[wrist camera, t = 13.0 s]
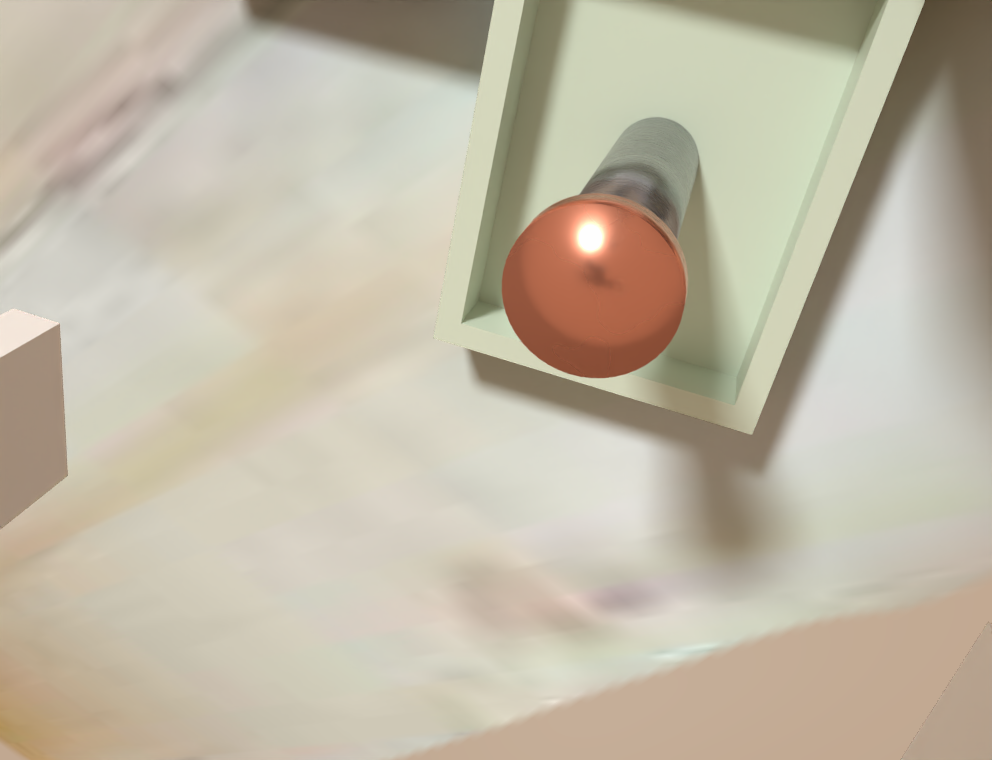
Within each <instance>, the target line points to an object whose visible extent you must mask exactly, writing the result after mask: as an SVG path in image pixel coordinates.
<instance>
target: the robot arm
mask: <svg viewBox="0 0 992 760" xmlns="http://www.w3.org/2000/svg"><path fill="white" fill-rule="evenodd" d="M67 476H68V470H67V451H66V432H65V413H64V395H63V376H62V357H61V338H60V323H57V322H54V321H51V320H48V319H45V318H41V317H38V316H35V315H32V314H29V313H26V312H23V311H20V310H17V309H11V310H10V311H8V312H6V313H4V314H2V315H0V529H2V528H3V527H4V526H5V525H7V524H8V523H9V522H10V521H12V520H13V519H14V518H15V517H17V516H18V515H19V514H20V513H22V512H23V511H24V510H25V509H27V508H28V507H29V506H30V505H32V504H33V503H34V502H35V501H37V500H38V499H39V498H40V497H42V496H43V495H44V494H45V493H47V492H48V491H49V490H50V489H52V488H53V487H54V486H55V485H57V484H58V483H59V482H60V481H62V480H63V479H64V478H65V477H67ZM901 760H992V623H990V622H988V623H987V624H986V626H985V627H984V629H983V631H982V632H981V634H980V636H979V637H978V638H977V640H976V642H975V643H974V645H973V646H972V648H971V649H970V651H969V653H968V654H967V656H966V657H965V659H964V660H963V662H962V664H961V665H960V667H959V668H958V670H957V672H956V673H955V675H954V676H953V678H952V679H951V681H950V683H949V684H948V686H947V687H946V689H945V690H944V692H943V694H942V695H941V697H940V698H939V700H938V702H937V703H936V705H935V706H934V708H933V709H932V711H931V713H930V714H929V716H928V717H927V719H926V720H925V722H924V724H923V725H922V727H921V728H920V730H919V731H918V733H917V735H916V736H915V738H914V739H913V741H912V742H911V744H910V746H909V747H908V749H907V750H906V752H905V754H904V755H903V757H902V758H901Z"/></svg>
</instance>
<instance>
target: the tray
mask: <svg viewBox="0 0 992 760" xmlns="http://www.w3.org/2000/svg"><path fill="white" fill-rule="evenodd" d="M924 2H925V0H494V6H493V11H492V17H491V22H490V28H489V33H488V39H487V44H486V50H485V55H484V61H483V66H482V72H481V77H480V83H479V88H478V94H477V99H476V105H475V111H474V116H473V122H472V127H471V133H470V138H469V144H468V149H467V155H466V160H465V166H464V171H463V177H462V182H461V188H460V193H459V199H458V204H457V210H456V215H455V221H454V226H453V232H452V238H451V243H450V249H449V254H448V260H447V265H446V271H445V276H444V282H443V287H442V293H441V298H440V304H439V309H438V315H437V320H436V326H435V331H434V337H433V338H434V339H437V340H441V341H444V342H447V343H450V344H454V345H457V346H460V347H464V348H467V349H470V350H474V351H477V352H480V353H483V354H487V355H490V356H493V357H497V358H500V359H503V360H506V361H510V362H513V363H516V364H520V365H523V366H526V367H529V368H533V369H536V370H539V371H543V372H546V373H549V374H552V375H556V376H559V377H562V378H566V379H569V380H572V381H575V382H579V383H582V384H585V385H589V386H592V387H595V388H598V389H602V390H605V391H608V392H612V393H615V394H618V395H621V396H625V397H628V398H631V399H635V400H638V401H641V402H644V403H648V404H651V405H654V406H658V407H661V408H664V409H667V410H671V411H674V412H677V413H681V414H684V415H687V416H690V417H694V418H697V419H700V420H704V421H707V422H710V423H713V424H717V425H720V426H723V427H727V428H730V429H733V430H736V431H740V432H743V433H746V434H750V435H752V434H753V432H754V429H755V427H756V424H757V421H758V419H759V416H760V414H761V411H762V409H763V406H764V404H765V401H766V399H767V396H768V394H769V391H770V389H771V386H772V384H773V381H774V379H775V376H776V374H777V371H778V369H779V366H780V364H781V361H782V359H783V356H784V354H785V351H786V349H787V346H788V344H789V341H790V339H791V336H792V334H793V331H794V329H795V326H796V324H797V321H798V319H799V316H800V314H801V311H802V308H803V306H804V303H805V301H806V298H807V296H808V293H809V291H810V288H811V286H812V283H813V281H814V278H815V276H816V273H817V271H818V268H819V266H820V263H821V261H822V258H823V256H824V253H825V251H826V248H827V246H828V243H829V241H830V238H831V236H832V233H833V231H834V228H835V226H836V223H837V221H838V218H839V216H840V213H841V211H842V208H843V206H844V203H845V201H846V198H847V195H848V193H849V190H850V188H851V185H852V183H853V180H854V178H855V175H856V173H857V170H858V168H859V165H860V163H861V160H862V158H863V155H864V153H865V150H866V148H867V145H868V143H869V140H870V138H871V135H872V133H873V130H874V128H875V125H876V123H877V120H878V118H879V115H880V113H881V110H882V108H883V105H884V103H885V100H886V98H887V95H888V93H889V90H890V88H891V85H892V82H893V80H894V77H895V75H896V72H897V70H898V67H899V65H900V62H901V60H902V57H903V55H904V52H905V50H906V47H907V45H908V42H909V40H910V37H911V35H912V32H913V30H914V27H915V25H916V22H917V20H918V17H919V15H920V12H921V10H922V7H923V5H924ZM651 117H662V118H667V119H670V120H673V121H675V122H677V123H679V124H680V125H682V126H683V127H684V128H685V129H686V130H687V131H688V132H689V133H690V134H691V136H692V137H693V139H694V141H695V143H696V145H697V149H698V154H699V166H698V171H697V174H696V178H695V181H694V185H693V188H692V192H691V195H690V199H689V202H688V206H687V209H686V212H685V216H684V219H683V223H682V226H681V230H680V233H679V237H678V240H677V241H678V243H679V245H680V247H681V249H682V251H683V254H684V257H685V261H686V266H687V271H688V290H687V297H686V302H685V306H684V311H683V315H682V319H681V322H680V325H679V327H678V329H677V332H676V334H675V335H674V337H673V339H672V340H671V342H670V343H669V344H668V346H667V347H666V348H665V349H664V351H663V352H662V353H660V354H659V355H658V356H657V357H656V358H655V359H654V360H652V361H651V362H650V363H648V364H647V365H645V366H643V367H641V368H640V369H638V370H636V371H633V372H630V373H628V374H625V375H621V376H616V377H610V378H586V377H579V376H575V375H571V374H568V373H565V372H562V371H560V370H557V369H555V368H553V367H552V366H550V365H548V364H546V363H545V362H543V361H542V360H540V359H539V358H538V357H536V356H535V355H534V354H533V353H532V352H530V351H529V350H528V348H527V347H526V346H525V345H524V344H523V343H522V342H521V340H520V339H519V338H518V336H517V335H516V334H515V332H514V330H513V328H512V326H511V325H510V322H509V320H508V317H507V315H506V312H505V308H504V304H503V298H502V276H503V269H504V266H505V262H506V259H507V257H508V254H509V252H510V250H511V248H512V246H513V245H514V243H515V242H516V240H517V239H518V237H519V236H520V235H521V234H522V232H523V231H524V230H525V229H526V227H527V226H528V225H529V224H530V223H531V221H532V220H533V219H534V218H535V217H536V216H537V215H538V214H540V213H541V212H542V211H543V210H545V209H546V208H548V207H549V206H551V205H552V204H554V203H556V202H558V201H560V200H563V199H566V198H569V197H572V196H576V195H579V194H580V193H581V191H582V190H583V188H584V187H585V185H586V184H587V182H588V181H589V180H590V178H591V177H592V175H593V174H594V172H595V171H596V170H597V168H598V167H599V165H600V164H601V162H602V161H603V160H604V158H605V157H606V155H607V154H608V152H609V151H610V149H611V148H612V147H613V145H614V144H615V142H616V141H617V139H618V138H619V137H620V135H621V134H622V133H623V132H624V130H626V129H627V128H628V127H629V126H630V125H632V124H633V123H635V122H637V121H639V120H642V119H645V118H651Z"/></svg>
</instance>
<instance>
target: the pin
mask: <svg viewBox="0 0 992 760" xmlns="http://www.w3.org/2000/svg"><path fill="white" fill-rule="evenodd" d="M698 166H699V154H698V149H697V145H696V143H695V141H694V139H693V137H692V136H691V134H690V133H689V132H688V131H687V130H686V129H685V128H684V127H683V126H682V125H680V124H679V123H677V122H675V121H673V120H670V119H667V118H662V117H651V118H645V119H642V120H639V121H637V122H635V123H633V124H632V125H630V126H629V127H628V128H627V129H626V130H624V132H623V133H622V134H621V135H620V137H619V138H618V139H617V141H616V142H615V144H614V145H613V147H612V148H611V149H610V151H609V152H608V154H607V155H606V157H605V158H604V160H603V161H602V162H601V164H600V165H599V167H598V168H597V170H596V171H595V172H594V174H593V175H592V177H591V178H590V180H589V181H588V182H587V184H586V185H585V187H584V188H583V190H582V191H581V193H580V194H579V195H576V196H572V197H569V198H566V199H563V200H560V201H558V202H556V203H554V204H552V205H551V206H549V207H548V208H546V209H545V210H543V211H542V212H541V213H540V214H538V215H537V216H536V217H535V218H534V219H533V220H532V221H531V223H530V224H529V225H528V226H527V227H526V229H525V230H524V231H523V232H522V234H521V235H520V236H519V237H518V239H517V240H516V242H515V243H514V245H513V246H512V248H511V250H510V252H509V254H508V257H507V259H506V262H505V266H504V269H503V276H502V298H503V304H504V308H505V312H506V315H507V317H508V320H509V322H510V325H511V326H512V328H513V330H514V332H515V334H516V335H517V336H518V338H519V339H520V340H521V342H522V343H523V344H524V345H525V346H526V347H527V348H528V350H529V351H530V352H532V353H533V354H534V355H535V356H536V357H538V358H539V359H540V360H542V361H543V362H545V363H546V364H548V365H550V366H552V367H553V368H555V369H557V370H560V371H562V372H565V373H568V374H571V375H575V376H579V377H586V378H610V377H616V376H621V375H625V374H628V373H630V372H633V371H636V370H638V369H640V368H641V367H643V366H645V365H647V364H648V363H650V362H651V361H652V360H654V359H655V358H656V357H657V356H658V355H659V354H660V353H662V352H663V351H664V349H665V348H666V347H667V346H668V344H669V343H670V342H671V340H672V339H673V337H674V335H675V334H676V332H677V329H678V327H679V325H680V322H681V319H682V315H683V311H684V306H685V302H686V297H687V290H688V271H687V266H686V261H685V257H684V254H683V251H682V249H681V247H680V245H679V243H678V241H677V240H678V237H679V233H680V230H681V226H682V223H683V219H684V216H685V212H686V209H687V206H688V202H689V199H690V195H691V192H692V188H693V185H694V181H695V178H696V174H697V171H698Z"/></svg>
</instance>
